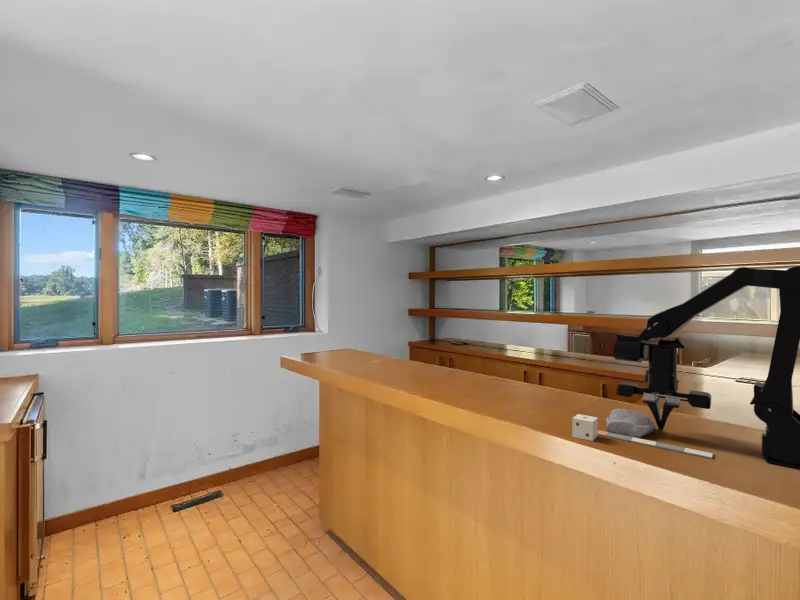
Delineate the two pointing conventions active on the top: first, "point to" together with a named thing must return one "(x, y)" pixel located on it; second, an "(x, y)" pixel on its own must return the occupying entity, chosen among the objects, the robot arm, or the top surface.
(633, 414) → the stone block
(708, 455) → the strip
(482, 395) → the top surface
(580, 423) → the die
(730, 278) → the robot arm
